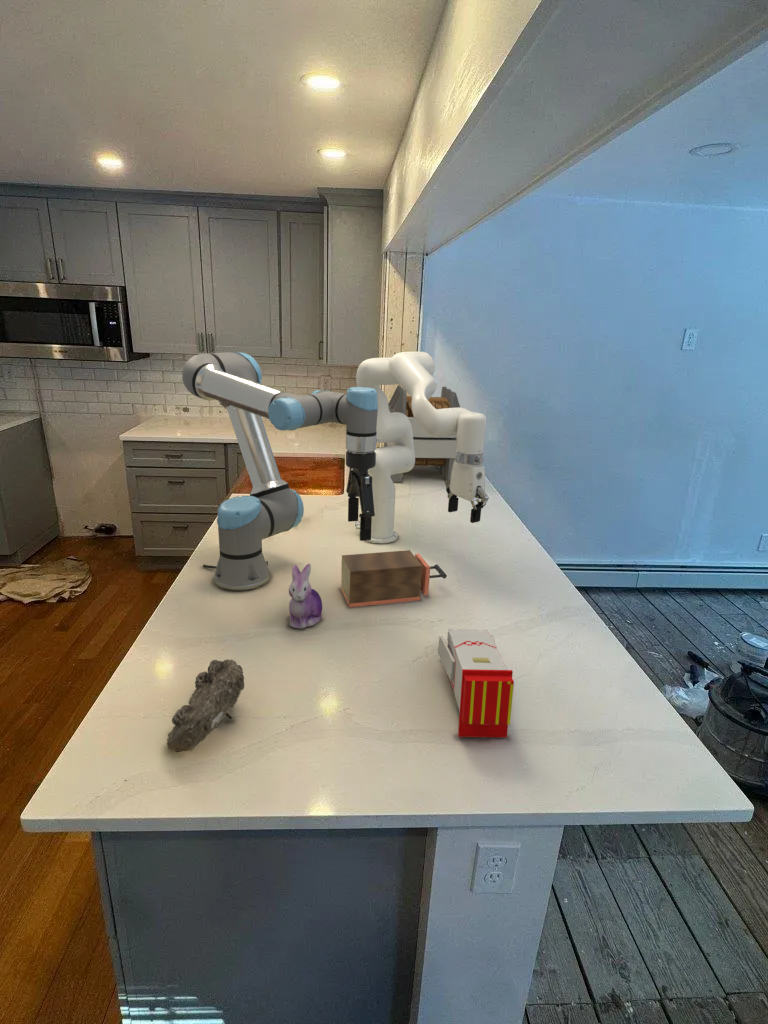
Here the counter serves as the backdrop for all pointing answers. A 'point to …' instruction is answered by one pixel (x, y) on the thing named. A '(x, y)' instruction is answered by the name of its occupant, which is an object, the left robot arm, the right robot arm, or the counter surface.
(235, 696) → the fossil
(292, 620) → the figurine
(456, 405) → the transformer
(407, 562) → the cabinet
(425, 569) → the drawer
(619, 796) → the counter surface
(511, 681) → the toy
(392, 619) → the counter surface
